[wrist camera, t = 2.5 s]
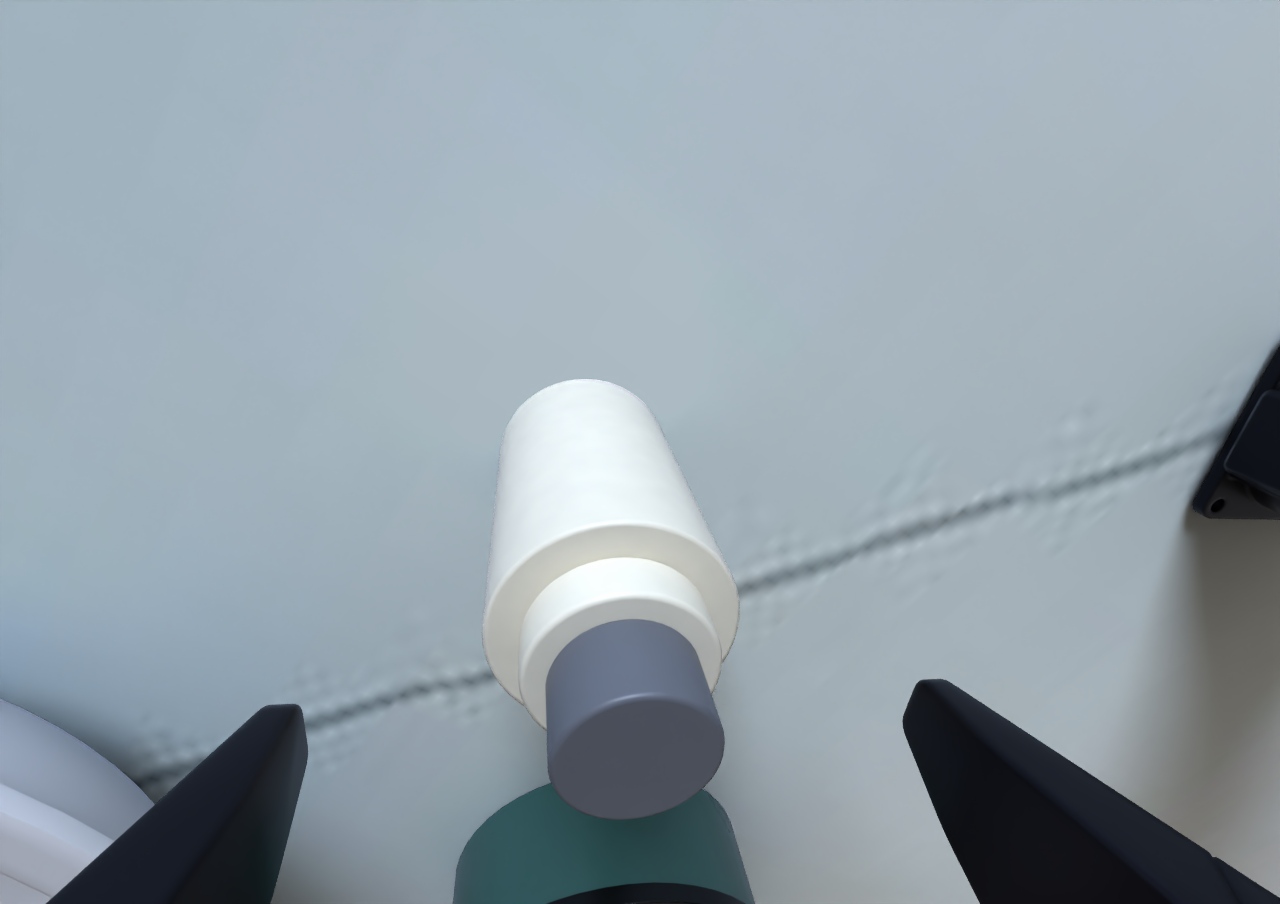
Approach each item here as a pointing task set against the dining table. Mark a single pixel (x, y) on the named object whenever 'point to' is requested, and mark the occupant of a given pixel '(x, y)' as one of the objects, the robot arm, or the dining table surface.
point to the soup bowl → (55, 806)
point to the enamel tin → (602, 856)
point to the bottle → (607, 601)
